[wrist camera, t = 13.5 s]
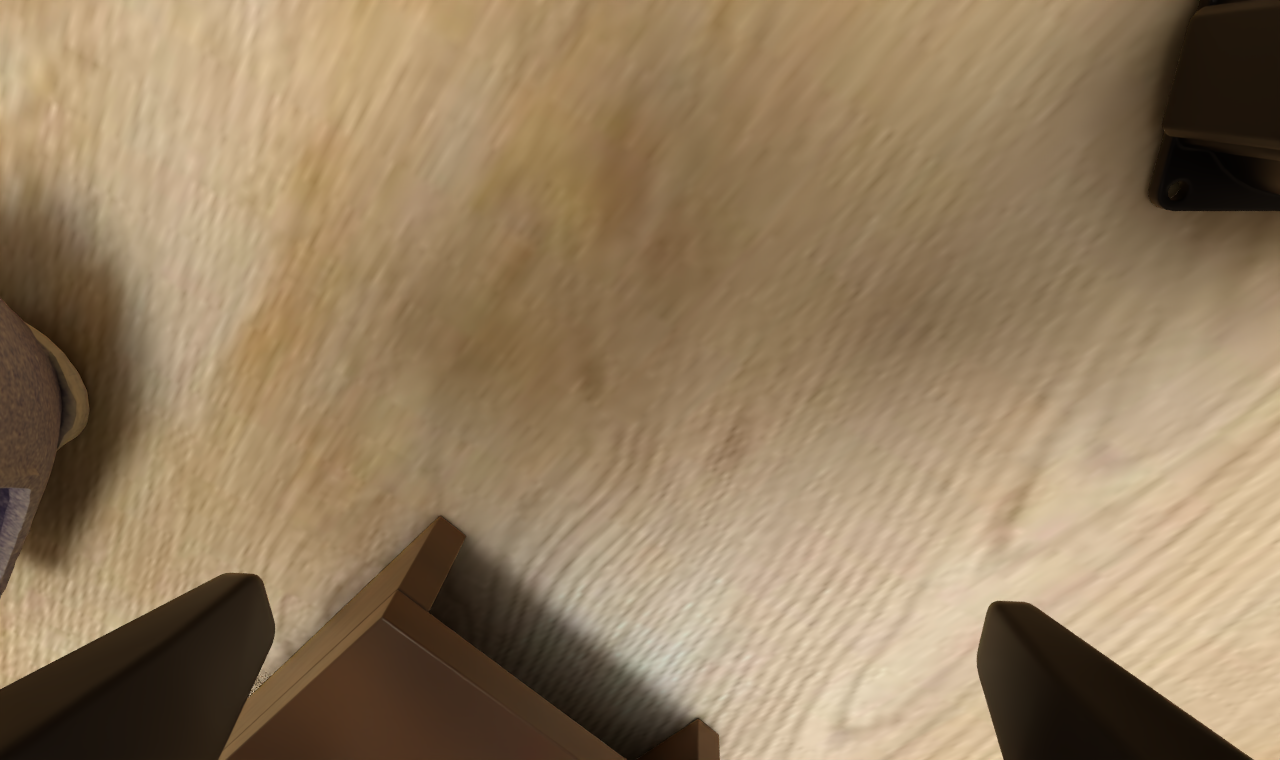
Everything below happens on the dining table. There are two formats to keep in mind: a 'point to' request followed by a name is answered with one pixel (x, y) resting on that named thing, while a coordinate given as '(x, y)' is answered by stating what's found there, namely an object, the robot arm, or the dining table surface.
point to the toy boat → (31, 425)
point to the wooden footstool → (415, 687)
